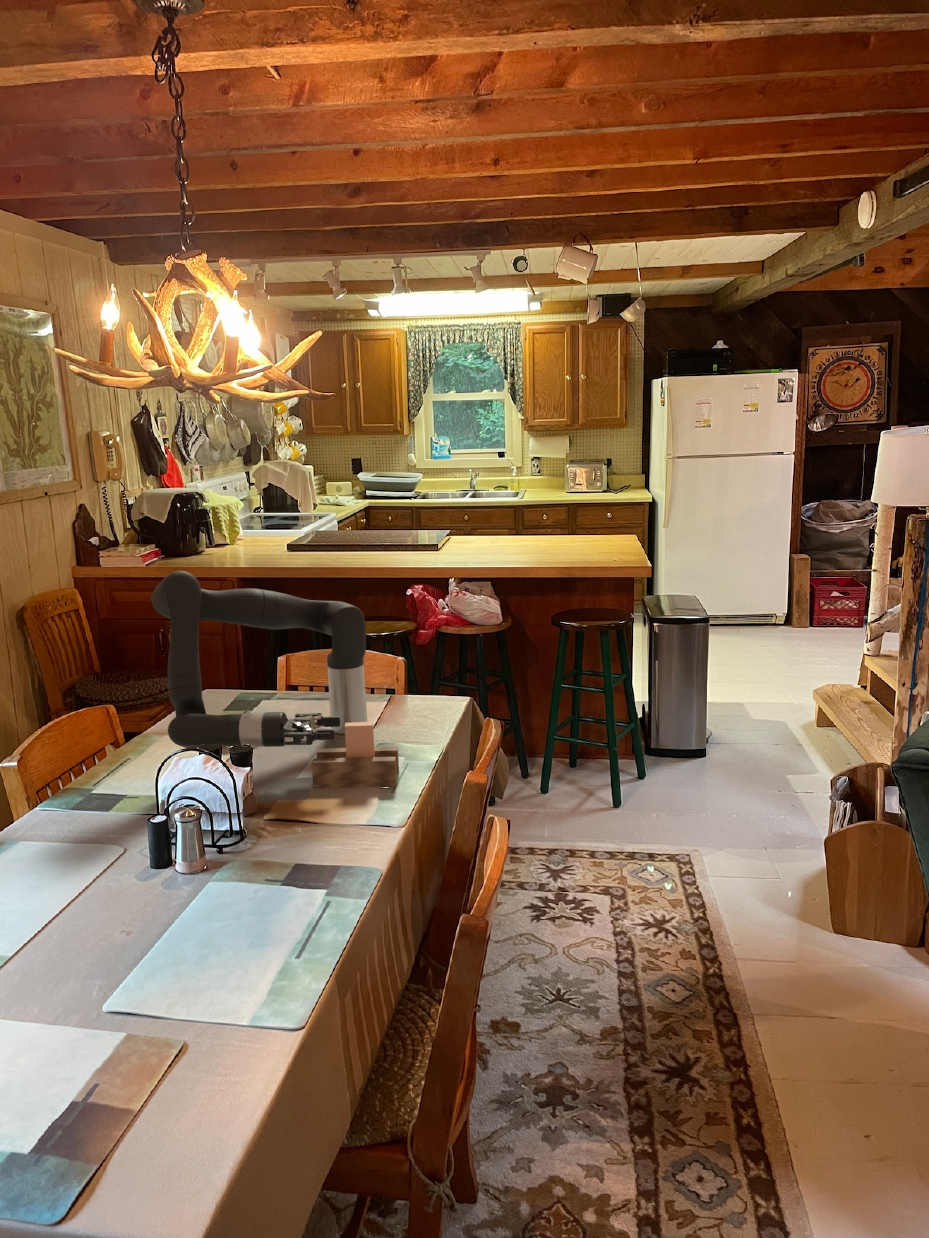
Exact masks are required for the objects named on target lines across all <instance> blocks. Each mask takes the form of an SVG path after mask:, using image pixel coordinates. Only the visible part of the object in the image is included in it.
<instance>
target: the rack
mask: <svg viewBox="0 0 929 1238" xmlns="http://www.w3.org/2000/svg"><path fill="white" fill-rule="evenodd" d="M374 750H375V757H359V758H346V747H335V748H334V747H333V748H332V747H331V748H330V747H329V748H328V747H327V748H317V750H316V753H315V755H316V758H313V759H312V761H311V775H312V777H313V786H312V789H343V788H347V789H349V788H350V789H351V788H380V787H396V788H397V786H396V784H397V785H398V781H397V780H399V776H398V774H399V775H400V764H399V763H400V761H399V747H398V746H374Z"/></svg>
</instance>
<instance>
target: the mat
mask: <svg viewBox="0 0 929 1238" xmlns="http://www.w3.org/2000/svg"><path fill="white" fill-rule="evenodd" d="M312 789H313V777H279V778H278V777H277V778H275V777H273V778H270V781H269V783H268V784H267V785H266V787H265V789H264V791H263V793H262V795H261V797H260V799H259V802H261V801H296V800H297V801H298V800H299V801H301V800H304V801H305V800H308V797H309V795H310V792H311V791H312Z"/></svg>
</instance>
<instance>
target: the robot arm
mask: <svg viewBox="0 0 929 1238" xmlns="http://www.w3.org/2000/svg"><path fill="white" fill-rule="evenodd" d="M150 599H151V600H150V601H151V605H152V607H153V608H154V610H155V611H156V612H157V613H158V614H159V615H161V616H163V617H166V618H168V619H169V620H170V640H169V641H170V642H169V648H168V657H167V684H168V685H167V687H168V697H169V701H170V702H171V705H172V706H173V708H174V712H175V713H174V714H175V716H174V718H172V719H171V721H169V723H168V726H167V734H168V738H169V739H170V740H171V742H173V743H174V744H175V745H177V746H179V747H182V748H186V749H190V750H193V749H194V750H195V749H198V748H200V747H202V746H207V745H209V746H211V745H212V746H215V745H214V744H218V745H217V746H218V747H219V746H220V747H225V746H228V747H230V746H237V747H244V746H243V745H244V744H249V745H250V746H251V747H250V748H270V747H274V748H276V747H285V746H312V745H313V743H316V742H317V741H333V740H335V738H336V734H339V735H345V723H352V722H368V712H367V690H366V684H365V683H366V682H365V667H364V665H365V662H364V657H365V655H366V651H367V650H366V649H367V644H366V643H367V639H366V638H367V637H366V636H367V635H366V634H367V633H366V630H367V629H366V620H365V616H364V615H365V614H364V613H363V611H362V610H361V609H360V608H359V607H358V606H356V605H353V604H350V603H348V602H344V601H340V600H316V599H315V600H312V599H305V598H301V597H297V596H294V595H292V594H287V593H284V592H283V593H282V592H278V591H274V590H267V589H261V588H234V589H224V590H211V589H210V590H209V589H203V588H201V584H200V582H199V580H198V579H197V578H196V576H194V575H193V574H192V573H190V572H188V571H184V570H176V571H174V572H171V573H169V574H168V575H166V576H165V577H164V578H163V579H162V580H161V581H160V582H159V583H158V584H157V585H156V586H155V587H154V590H153V591H152V594H151V596H150ZM200 620H204V621H205V620H207V621H215V622H221V623H225V624H233V625H240V626H247V627H252V628H260V629H266V630H285V629H286V630H289V629H306V630H309V631H310V630H311V631H314V632H315V631H316V632H320V633H321V634H326V635H328V636H331V652H329V653H328V654H327V657H326V662H327V663H326V664H327V665H326V666H327V679H328V680H327V682H328V695H329V697H328V698H329V715H330V716H324V715H323V714H322V712H309V713H296V714H294V715H295V716H294V718H292V719H288V718H287V717H288V715H287V714H286V713H285V712H284V711H272V712H270V711H269V712H268V711H266V712H265V711H264V712H250V713H234V714H232V713H231V714H217V715H216V714H209V713H207V711H206V707H205V704H204V700H203V688H202V687H203V686H202V677H201V676H202V675H201V664H200V648H199V647H200V643H199V637H200V636H199V635H200V633H199V631H200V629H199V628H200V627H199V626H200ZM322 728H323V729H322ZM326 728H327V729H326Z"/></svg>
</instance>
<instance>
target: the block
mask: <svg viewBox="0 0 929 1238" xmlns="http://www.w3.org/2000/svg"><path fill="white" fill-rule="evenodd" d="M344 737H345V748H346V758H359V757H375V750H374V747H375V735H374V721H367V722H352V723H345V734H344Z"/></svg>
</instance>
